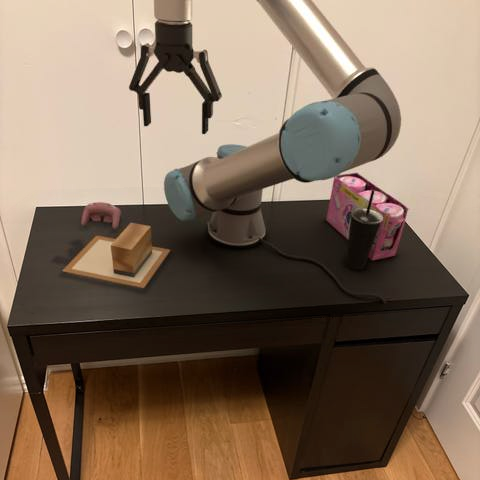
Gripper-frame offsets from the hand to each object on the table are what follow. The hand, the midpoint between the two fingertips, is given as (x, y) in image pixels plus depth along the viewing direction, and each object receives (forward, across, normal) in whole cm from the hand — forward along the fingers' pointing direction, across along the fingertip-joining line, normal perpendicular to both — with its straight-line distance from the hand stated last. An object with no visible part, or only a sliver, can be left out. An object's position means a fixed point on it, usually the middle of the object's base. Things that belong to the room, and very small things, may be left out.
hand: (176, 128), depth 115 cm
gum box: (+29, -46, -16) cm, 57 cm away
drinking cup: (+29, -46, -2) cm, 54 cm away
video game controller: (+28, +21, 0) cm, 35 cm away
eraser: (+27, +6, +16) cm, 32 cm away
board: (+28, +10, +16) cm, 34 cm away
